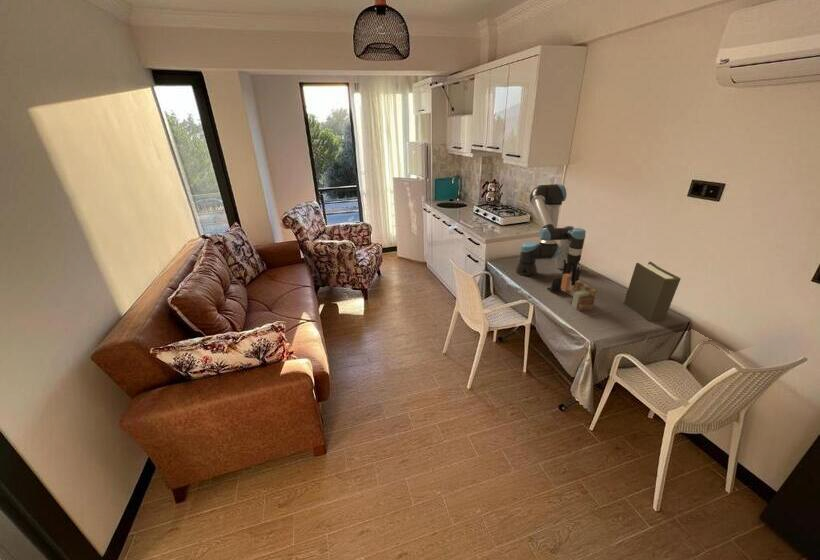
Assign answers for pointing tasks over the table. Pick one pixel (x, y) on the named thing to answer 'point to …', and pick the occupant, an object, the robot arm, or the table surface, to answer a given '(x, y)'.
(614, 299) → the table surface
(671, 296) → the book
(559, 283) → the bookend
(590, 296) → the shelf
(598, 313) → the table surface
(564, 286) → the book rust
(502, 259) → the table surface
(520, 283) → the table surface
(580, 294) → the book green
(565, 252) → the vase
